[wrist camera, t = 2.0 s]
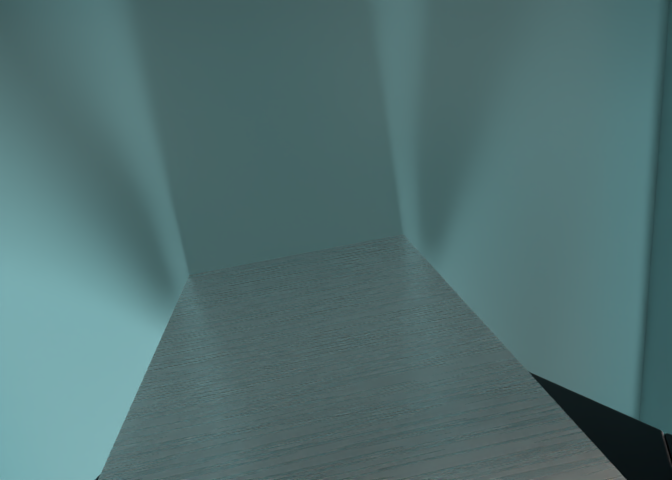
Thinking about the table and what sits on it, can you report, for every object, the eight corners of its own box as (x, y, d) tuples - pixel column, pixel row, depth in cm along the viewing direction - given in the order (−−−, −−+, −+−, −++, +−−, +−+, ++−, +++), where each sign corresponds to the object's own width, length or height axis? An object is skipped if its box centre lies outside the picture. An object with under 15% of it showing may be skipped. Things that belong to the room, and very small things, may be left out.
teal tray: (645, 527, 15) (718, 612, 12) (53, 674, 13) (6, 802, 11) (706, -180, 9) (867, -279, 6) (-340, -47, 7) (-628, -111, 5)
